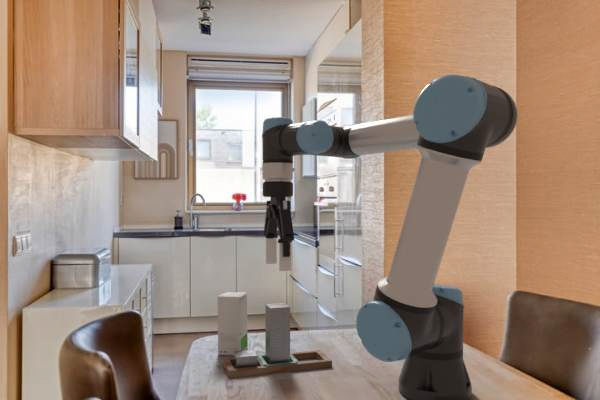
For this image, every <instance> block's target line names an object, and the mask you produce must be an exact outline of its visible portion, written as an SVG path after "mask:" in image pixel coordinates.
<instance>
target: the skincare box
mask: <svg viewBox="0 0 600 400" xmlns="http://www.w3.org/2000/svg"><path fill="white" fill-rule="evenodd" d="M248 340H249V339H248V292H246V291H239V292H238V291H236V292H235V291H233V292H232V291H226V292H225V293H224V292H223V293H221V294H219V295H217V355H219V356H228V357H229V356H232V357H234V351H243V350H248V346H249V345H248V342H249V341H248Z"/></svg>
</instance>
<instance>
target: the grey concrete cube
mask: <svg viewBox="0 0 600 400" xmlns="http://www.w3.org/2000/svg"><path fill="white" fill-rule="evenodd" d="M257 356H258V354H257V353H256V351H255V349H246V350H243V351H234V356H233V358H234V366H233V367H234V369H236V368H247V367H257Z"/></svg>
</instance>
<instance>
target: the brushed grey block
mask: <svg viewBox="0 0 600 400" xmlns="http://www.w3.org/2000/svg"><path fill="white" fill-rule="evenodd" d="M264 331H265V340H264V341H265V351H264V352H265V361H266V363H267V364H275V363H285V362H290V353H291V306H289V305H288V304H287V303H286V302H280V303H265V329H264Z"/></svg>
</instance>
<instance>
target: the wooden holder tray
mask: <svg viewBox="0 0 600 400" xmlns="http://www.w3.org/2000/svg"><path fill="white" fill-rule="evenodd" d="M306 359H316V360H310V361H301V362H300V361H299V360H306ZM222 363H223V364H222V365H223V367H224V369H225V372H226V374H227V375H228V378H229V379H231V378H239V377H247V376H257V375H258V376H260V375H265V374H269V375H270V374H278V373H284V372H286V373H288V372H295V371H296V372H298V371H305V370H307V371H308V370H314V369H315V370H316V369H326V368H333V360H332V359H331V358H329V356H327V354H325V353H323V352H322V350H321V349H315V350H307V351H294V352H293V351H292V352H290V362H285V363H275V364H267V363H266V361H265V354H264V353H263V354H258V355H257V367H247V368H236V369H235V368H234V357H229V358H223V361H222Z"/></svg>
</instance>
